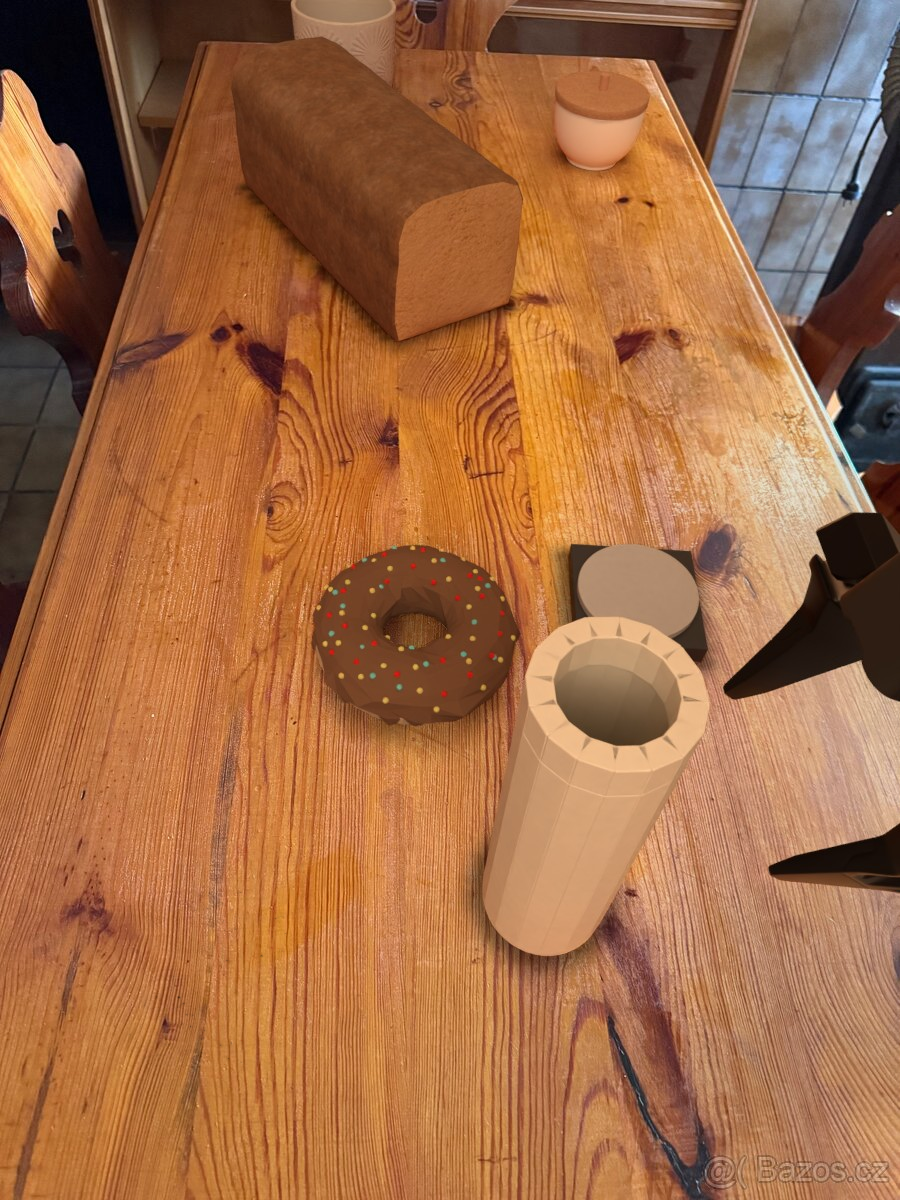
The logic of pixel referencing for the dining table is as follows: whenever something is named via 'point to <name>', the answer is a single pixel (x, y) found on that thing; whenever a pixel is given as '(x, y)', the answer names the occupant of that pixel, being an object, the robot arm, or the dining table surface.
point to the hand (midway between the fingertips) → (748, 777)
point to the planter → (352, 29)
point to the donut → (406, 674)
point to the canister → (587, 776)
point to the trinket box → (598, 117)
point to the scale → (639, 590)
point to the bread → (375, 187)
